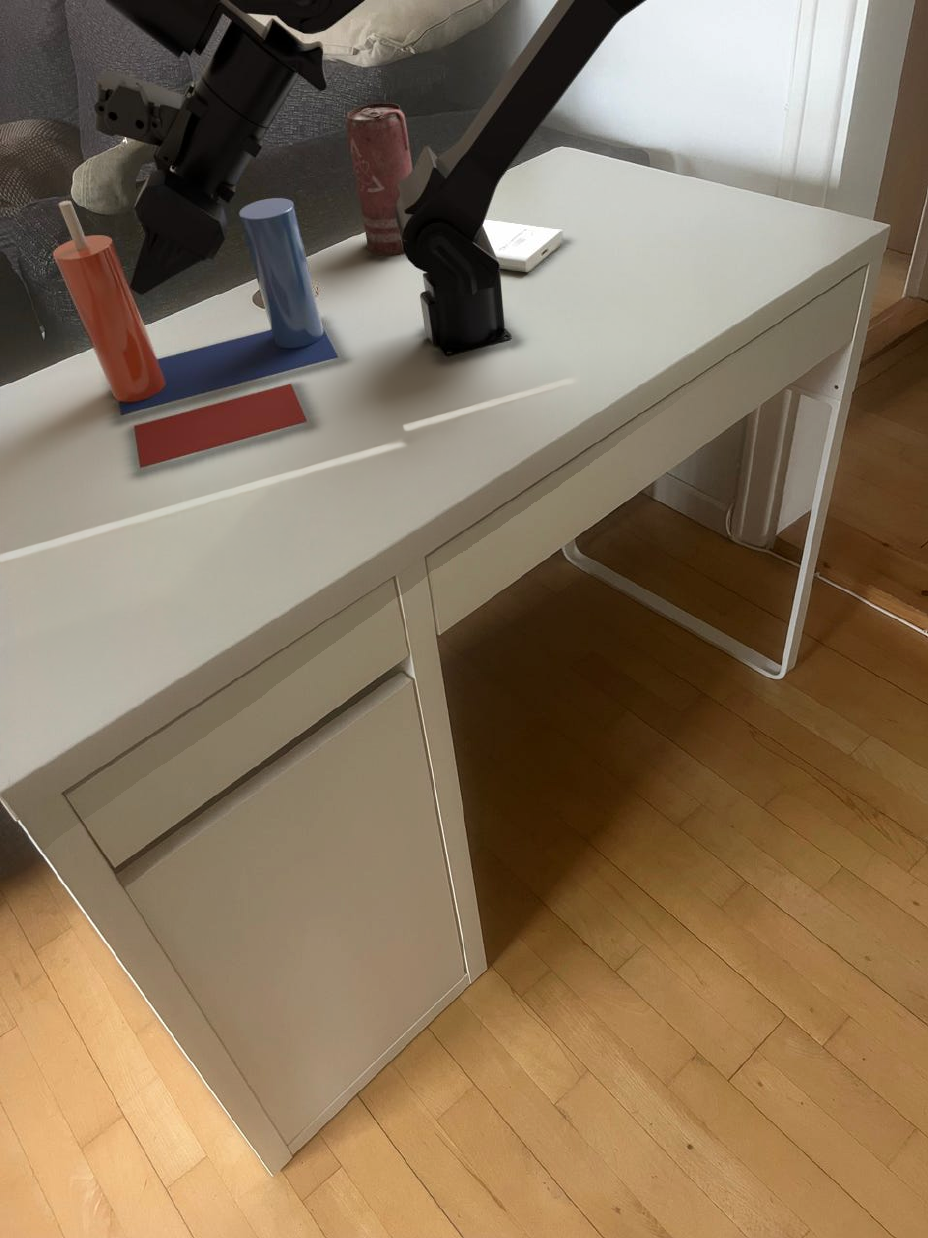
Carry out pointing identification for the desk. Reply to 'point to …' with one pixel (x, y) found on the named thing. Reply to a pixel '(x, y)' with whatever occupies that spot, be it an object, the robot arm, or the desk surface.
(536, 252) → the hard drive
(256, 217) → the slate blue jar
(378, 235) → the can
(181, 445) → the oxblood mat
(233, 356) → the navy mat
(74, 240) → the orange red candle
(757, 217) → the desk surface
